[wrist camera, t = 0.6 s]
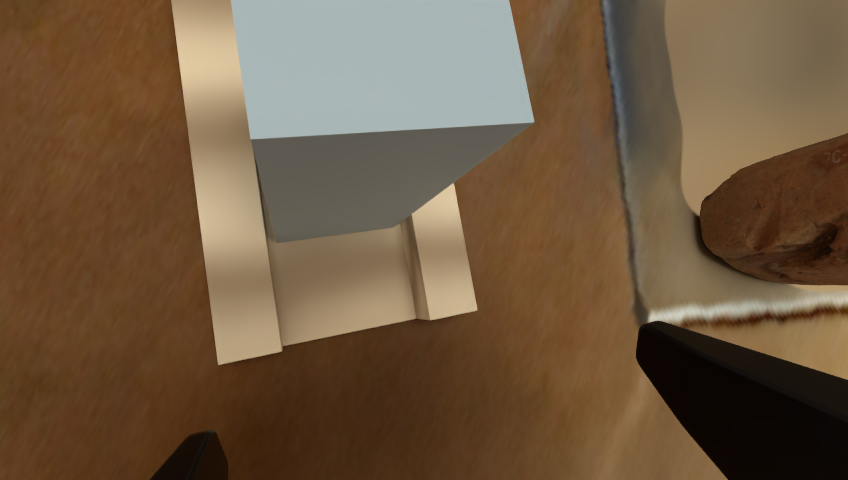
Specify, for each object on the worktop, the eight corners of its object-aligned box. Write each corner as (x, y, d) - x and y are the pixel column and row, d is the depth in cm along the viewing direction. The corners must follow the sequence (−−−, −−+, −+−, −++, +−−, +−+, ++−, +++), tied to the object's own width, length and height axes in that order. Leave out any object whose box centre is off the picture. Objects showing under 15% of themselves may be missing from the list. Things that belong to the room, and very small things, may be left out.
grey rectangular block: (393, 227, 23) (534, 122, 10) (276, 243, 21) (250, 139, 8) (375, 120, 23) (484, -118, 10) (260, 126, 22) (208, -156, 8)
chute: (455, 309, 24) (477, 310, 21) (228, 356, 20) (218, 364, 17) (398, -4, 26) (411, -42, 23) (180, -13, 22) (163, -60, 19)
